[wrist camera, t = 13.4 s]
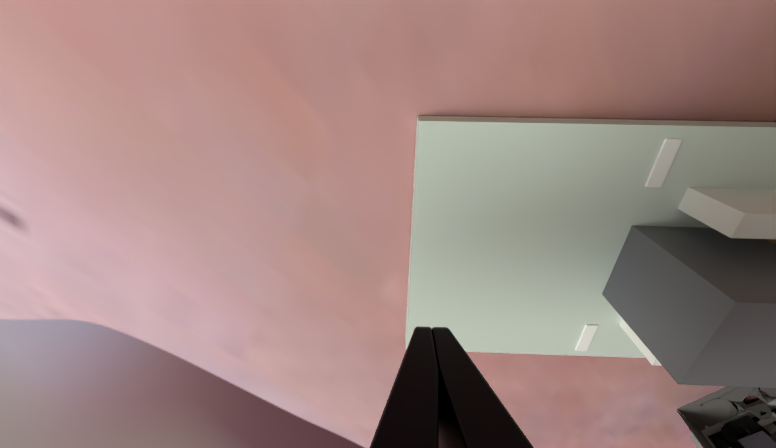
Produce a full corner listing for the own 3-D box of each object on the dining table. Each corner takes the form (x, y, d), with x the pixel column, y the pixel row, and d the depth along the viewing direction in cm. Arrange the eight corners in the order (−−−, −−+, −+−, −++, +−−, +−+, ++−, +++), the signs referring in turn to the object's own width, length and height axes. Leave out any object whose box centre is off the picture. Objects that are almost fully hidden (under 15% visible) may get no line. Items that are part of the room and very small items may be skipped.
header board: (405, 333, 20) (406, 402, 16) (417, 115, 13) (424, 140, 10) (684, 343, 19) (756, 416, 15) (828, 122, 13) (1010, 152, 9)
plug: (631, 225, 14) (736, 302, 10) (745, 228, 14) (901, 307, 10) (601, 294, 16) (677, 384, 12) (701, 297, 16) (815, 389, 12)
